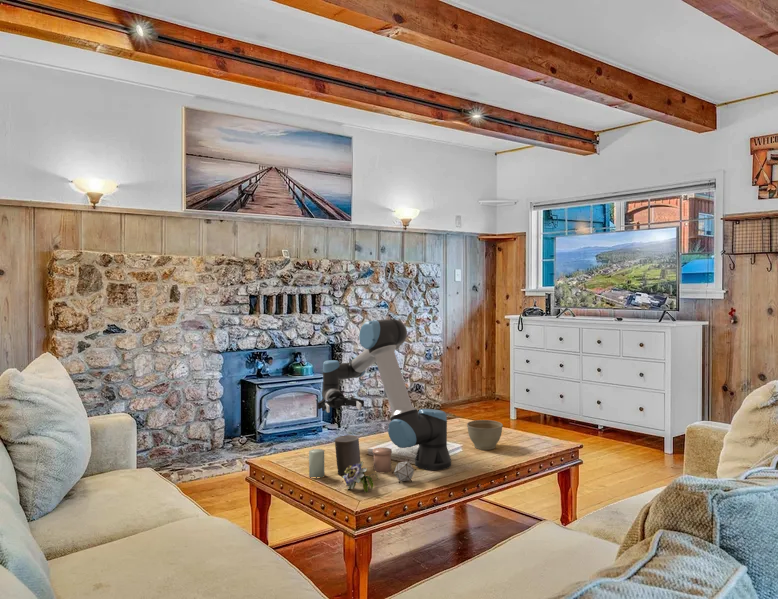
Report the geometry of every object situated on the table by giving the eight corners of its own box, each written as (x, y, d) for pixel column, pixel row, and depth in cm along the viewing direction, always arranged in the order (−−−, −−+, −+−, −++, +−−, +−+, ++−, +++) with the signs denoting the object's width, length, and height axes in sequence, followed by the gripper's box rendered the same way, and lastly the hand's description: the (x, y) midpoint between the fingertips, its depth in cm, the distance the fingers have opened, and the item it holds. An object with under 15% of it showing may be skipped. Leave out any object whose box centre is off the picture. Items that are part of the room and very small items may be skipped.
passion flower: (349, 504, 222) (334, 475, 226) (372, 492, 229) (357, 463, 233) (362, 494, 214) (346, 464, 218) (385, 482, 221) (369, 453, 225)
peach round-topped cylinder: (395, 468, 247) (395, 449, 247) (386, 474, 240) (385, 453, 240) (378, 465, 251) (378, 446, 250) (369, 471, 244) (369, 451, 244)
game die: (407, 492, 230) (413, 476, 224) (387, 483, 231) (392, 467, 225) (415, 475, 237) (420, 459, 231) (395, 466, 238) (400, 450, 232)
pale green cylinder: (327, 475, 239) (327, 450, 239) (318, 479, 234) (318, 454, 234) (315, 472, 242) (314, 448, 242) (306, 477, 237) (305, 452, 237)
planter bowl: (464, 443, 285) (464, 420, 284) (498, 442, 285) (498, 419, 285) (470, 452, 269) (470, 428, 268) (506, 452, 269) (506, 427, 269)
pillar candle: (336, 477, 237) (333, 439, 236) (338, 468, 247) (335, 432, 246) (361, 474, 237) (358, 437, 236) (362, 466, 247) (358, 430, 246)
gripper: (362, 405, 274) (373, 415, 254) (307, 408, 267) (315, 419, 247) (362, 388, 274) (373, 397, 254) (307, 391, 267) (314, 401, 247)
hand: (344, 408), depth 250 cm, fingers open, 13 cm apart
